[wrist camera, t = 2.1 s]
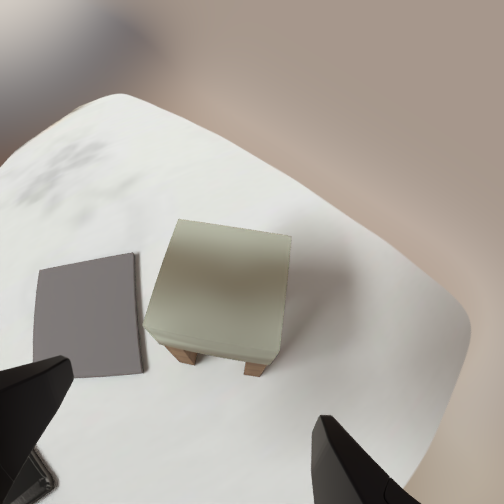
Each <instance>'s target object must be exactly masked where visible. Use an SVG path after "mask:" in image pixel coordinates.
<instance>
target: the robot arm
mask: <svg viewBox="0 0 504 504" xmlns="http://www.w3.org/2000/svg"><path fill="white" fill-rule="evenodd" d="M73 379H74V374H73V369H72V364H71V361H70V359H69V358H67V357H65V356H63V355H59V356H55V357H51V358H48V359H44V360H41V361H37V362H33V363H30V364H26V365H22V366H18V367H14V368H10V369H7V370H3V371H0V504H3V502H4V500H5V498H6V496H7V494H8V492H9V490H10V489H11V487H12V485H13V483H14V481H15V479H16V477H17V476H18V474H19V472H20V470H21V469H22V467H23V465H24V463H25V462H26V460H27V458H28V457H29V455H30V453H31V452H32V450H33V448H34V447H35V445H36V443H37V442H38V440H39V439H40V437H41V435H42V434H43V432H44V431H45V429H46V427H47V426H48V424H49V423H50V421H51V420H52V418H53V417H54V415H55V414H56V412H57V410H58V409H59V407H60V405H61V403H62V401H63V399H64V397H65V395H66V393H67V391H68V390H69V388H70V386H71V384H72V382H73ZM311 476H312V485H313V495H314V504H421V503H419V502H418V501H417V500H416V499H414V498H413V497H412V496H410V495H409V494H408V493H407V492H406V491H404V490H403V489H402V488H401V487H400V486H399V485H398V484H397V483H396V482H395V481H394V480H393V479H392V478H390V476H389V475H388V474H387V473H386V472H385V471H384V470H383V469H382V468H381V467H380V466H379V465H378V464H377V463H376V462H375V461H374V460H373V459H372V458H371V457H370V456H369V455H368V454H367V453H366V452H365V451H364V449H363V448H362V447H361V446H360V445H359V444H358V443H357V442H356V441H355V440H354V439H353V438H352V437H351V436H350V435H349V433H348V432H347V431H346V430H345V429H344V428H343V427H342V426H341V425H340V424H339V423H338V422H337V420H336V419H335V418H334V417H333V416H331V415H320V416H319V417H318V420H317V422H316V424H315V427H314V429H313V432H312V455H311Z"/></svg>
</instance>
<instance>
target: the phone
mask: <svg viewBox="0 0 504 504" xmlns="http://www.w3.org/2000/svg"><path fill="white" fill-rule="evenodd" d="M53 488H54V480H53V478H52V476H51V474H50V473H49V472H48V470H47V469H46V467H45V466H44V464H43V463H42V462H41V460H40V459H39V457H38V456H37V454H36V452H35V451H34V449H33V450H32V452H31V453H30V455H29V457H28V458H27V460H26V462H25V463H24V465H23V467H22V469H21V470H20V472H19V474H18V476H17V477H16V479H15V481H14V483H13V485H12V487H11V489H10V490H9V492H8V494H7V496H6V498H5V500H4V502H3V504H33V503H34V502H36V501H37V500H39V499H40V498H41V497H43V496H44V495H46V494H47V493H48V492H50V491H51V490H52V489H53Z"/></svg>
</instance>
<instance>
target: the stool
mask: <svg viewBox="0 0 504 504" xmlns="http://www.w3.org/2000/svg"><path fill="white" fill-rule="evenodd" d="M290 248H291V236H287V235H281V234H275V233H269V232H262V231H256V230H250V229H243V228H237V227H230V226H223V225H217V224H210V223H203V222H196V221H189V220H182V219H178V221H177V224H176V227H175V229H174V232H173V235H172V237H171V240H170V243H169V246H168V248H167V251H166V254H165V257H164V260H163V263H162V266H161V268H160V271H159V274H158V277H157V280H156V283H155V287H154V290H153V293H152V296H151V299H150V302H149V305H148V309H147V312H146V315H145V319H144V322H143V325H142V326H143V327H144V328H145V329H146V330H147V331H148V332H149V333H150V334H151V336H152V337H153V338H154V339H155V340H156V341H157V342H158V343H159V344H161V345H164V346H165V347H166V348H167V349H168V350H169V351H170V352H171V354H172V355H173V356H174V357H175V358H176V359H177V360H178V361H179V362H182V363H186V364H190V365H195V362H196V357H197V353H201V354H206V355H211V356H216V357H221V358H227V359H232V360H238V361H244V362H246V364H245V370H244V375H250V376H256V377H260V375H261V374H262V372H263V371H264V369H265V368H266V366H267V365H270V364H271V363H272V362H273V360H274V359H275V357H276V356H277V355H278V353H279V350H280V342H281V334H282V325H283V317H284V308H285V299H286V289H287V279H288V269H289V259H290Z"/></svg>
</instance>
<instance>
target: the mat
mask: <svg viewBox="0 0 504 504" xmlns="http://www.w3.org/2000/svg"><path fill="white" fill-rule="evenodd" d="M59 355H63V356H65V357H67V358H69V359H70V361H71V364H72V369H73V374H74V378H89V377H106V376H119V375H130V374H140V373H143V367H142V359H141V351H140V342H139V332H138V320H137V307H136V289H135V258H134V253H127V254H122V255H116V256H111V257H105V258H100V259H95V260H89V261H84V262H79V263H74V264H68V265H63V266H58V267H53V268H48V269H43V270H39V276H38V284H37V292H36V301H35V313H34V329H33V362H37V361H41V360H44V359H48V358H51V357H55V356H59Z"/></svg>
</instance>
